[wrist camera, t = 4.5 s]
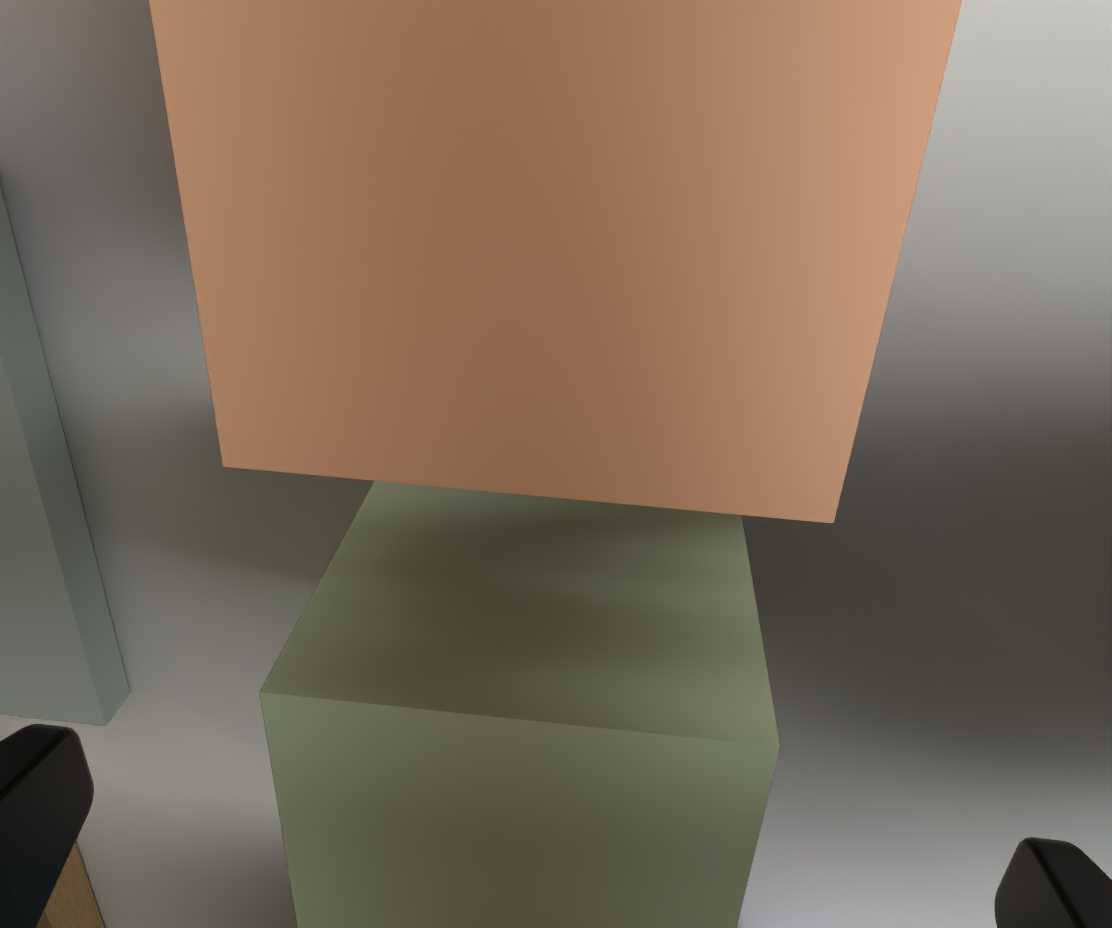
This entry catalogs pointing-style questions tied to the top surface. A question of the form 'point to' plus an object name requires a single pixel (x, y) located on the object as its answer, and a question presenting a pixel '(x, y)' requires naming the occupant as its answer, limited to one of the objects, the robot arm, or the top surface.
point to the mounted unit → (72, 899)
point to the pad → (45, 539)
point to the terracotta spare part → (550, 236)
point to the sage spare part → (523, 717)
